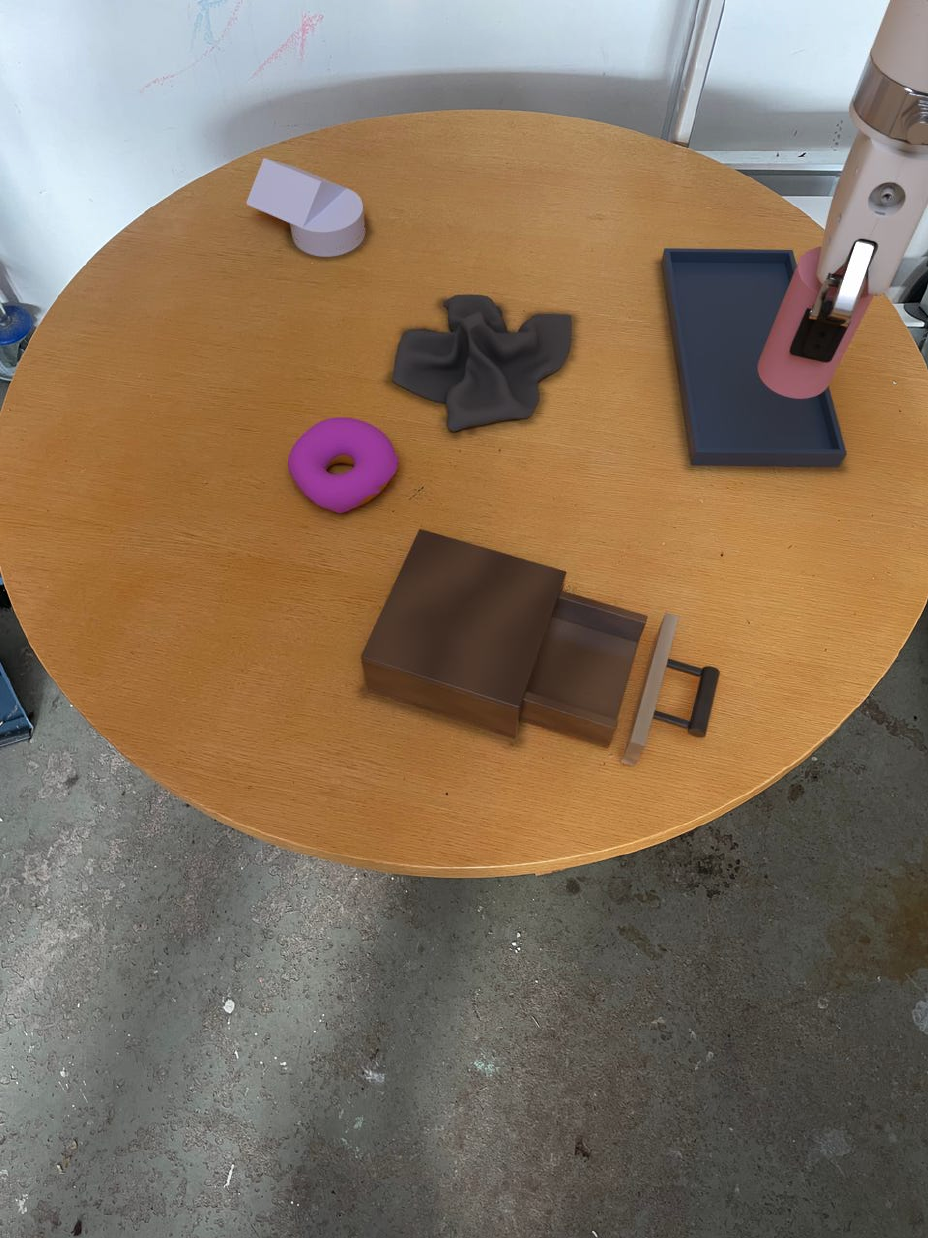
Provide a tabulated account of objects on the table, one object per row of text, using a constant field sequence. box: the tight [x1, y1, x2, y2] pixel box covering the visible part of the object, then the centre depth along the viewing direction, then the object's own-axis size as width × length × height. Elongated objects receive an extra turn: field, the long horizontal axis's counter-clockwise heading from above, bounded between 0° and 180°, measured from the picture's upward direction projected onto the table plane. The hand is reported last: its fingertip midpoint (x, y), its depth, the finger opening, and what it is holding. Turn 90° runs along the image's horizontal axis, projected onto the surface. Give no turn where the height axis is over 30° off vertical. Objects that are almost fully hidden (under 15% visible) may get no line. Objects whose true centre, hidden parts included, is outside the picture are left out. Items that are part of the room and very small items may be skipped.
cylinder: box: [758, 245, 875, 399], centre depth 68 cm, size 6×6×10 cm
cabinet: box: [360, 528, 567, 740], centre depth 75 cm, size 14×14×7 cm
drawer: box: [519, 590, 721, 768], centre depth 73 cm, size 17×12×5 cm
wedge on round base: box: [245, 157, 366, 258], centre depth 104 cm, size 9×7×13 cm
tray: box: [660, 247, 848, 468], centre depth 96 cm, size 31×15×2 cm, turn 179°
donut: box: [287, 416, 400, 514], centre depth 86 cm, size 10×10×5 cm
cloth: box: [390, 293, 572, 432], centre depth 94 cm, size 22×19×6 cm
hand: (815, 325), depth 68 cm, fingers closed on cylinder, 6 cm apart
